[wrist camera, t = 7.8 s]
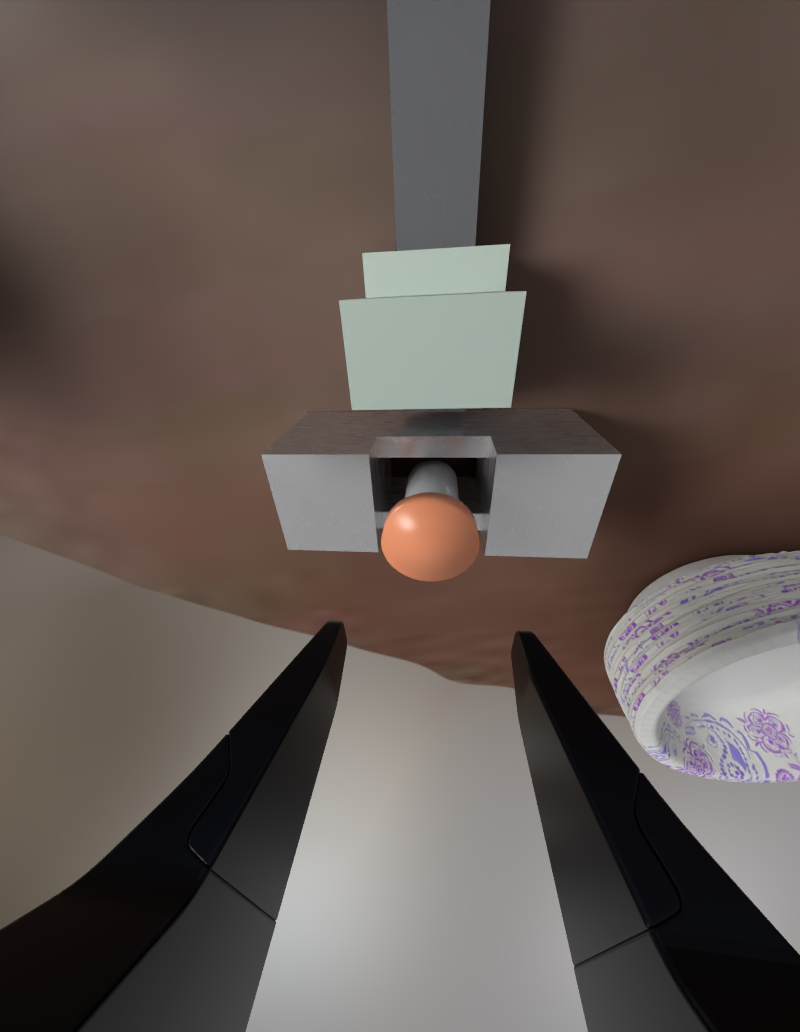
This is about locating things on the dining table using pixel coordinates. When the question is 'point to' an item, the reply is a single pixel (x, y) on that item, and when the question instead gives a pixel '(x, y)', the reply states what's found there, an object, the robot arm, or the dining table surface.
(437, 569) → the orange knob lever
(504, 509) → the grey blocky piece
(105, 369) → the dining table surface
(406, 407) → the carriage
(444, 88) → the rail
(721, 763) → the paper bowls
